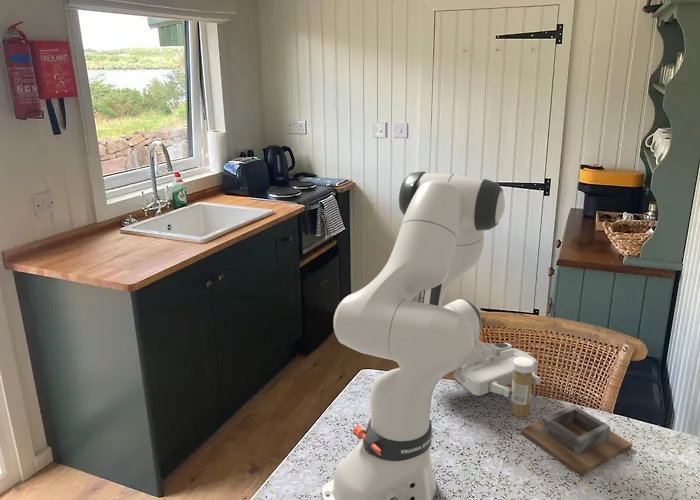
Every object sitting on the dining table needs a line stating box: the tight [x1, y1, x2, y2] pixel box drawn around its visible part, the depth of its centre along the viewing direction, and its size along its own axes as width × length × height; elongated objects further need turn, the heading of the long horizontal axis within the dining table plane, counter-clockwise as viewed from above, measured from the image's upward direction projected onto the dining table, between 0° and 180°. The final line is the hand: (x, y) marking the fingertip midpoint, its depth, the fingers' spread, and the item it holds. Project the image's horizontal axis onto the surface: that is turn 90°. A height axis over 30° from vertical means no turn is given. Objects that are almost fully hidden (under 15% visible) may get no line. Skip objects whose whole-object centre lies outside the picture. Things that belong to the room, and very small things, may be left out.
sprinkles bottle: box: [509, 357, 534, 418], centre depth 132 cm, size 5×5×14 cm
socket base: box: [519, 404, 633, 477], centre depth 123 cm, size 16×16×5 cm
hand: (524, 387), depth 131 cm, fingers open, 8 cm apart
